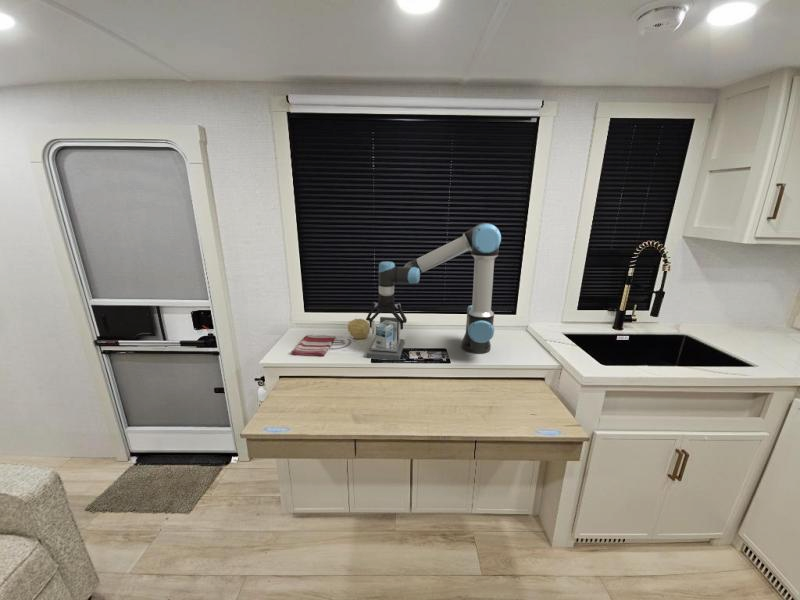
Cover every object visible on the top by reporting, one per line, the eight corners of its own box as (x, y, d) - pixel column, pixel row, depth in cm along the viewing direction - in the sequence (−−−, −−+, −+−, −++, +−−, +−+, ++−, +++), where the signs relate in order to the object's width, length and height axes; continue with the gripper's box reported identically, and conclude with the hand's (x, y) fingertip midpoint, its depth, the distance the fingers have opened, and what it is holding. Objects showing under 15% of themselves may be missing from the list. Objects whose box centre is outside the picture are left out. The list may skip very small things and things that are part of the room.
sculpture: (345, 339, 180) (344, 321, 177) (355, 331, 191) (354, 314, 188) (364, 342, 177) (364, 323, 174) (373, 334, 188) (373, 316, 185)
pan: (400, 342, 171) (400, 339, 171) (397, 353, 159) (397, 350, 159) (376, 340, 173) (376, 337, 172) (371, 351, 161) (371, 348, 160)
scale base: (404, 343, 176) (404, 318, 172) (399, 360, 157) (399, 332, 153) (375, 341, 178) (375, 316, 174) (366, 357, 159) (366, 330, 155)
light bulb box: (386, 349, 159) (386, 328, 156) (375, 346, 163) (374, 325, 160) (397, 341, 168) (397, 321, 165) (386, 338, 172) (386, 319, 168)
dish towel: (290, 356, 161) (290, 351, 160) (306, 337, 183) (306, 333, 182) (324, 357, 160) (323, 353, 159) (336, 339, 182) (336, 334, 181)
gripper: (412, 293, 160) (411, 333, 166) (363, 290, 163) (363, 330, 169) (411, 297, 153) (410, 338, 159) (359, 294, 156) (360, 335, 162)
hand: (386, 334), depth 164 cm, fingers open, 13 cm apart
